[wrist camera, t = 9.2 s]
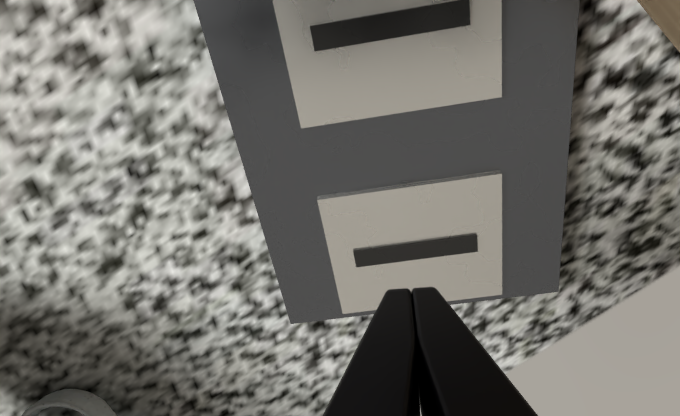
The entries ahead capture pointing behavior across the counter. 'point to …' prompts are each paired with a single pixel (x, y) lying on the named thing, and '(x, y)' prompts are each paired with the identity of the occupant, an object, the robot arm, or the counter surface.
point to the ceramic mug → (72, 403)
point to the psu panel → (401, 143)
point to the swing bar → (665, 17)
